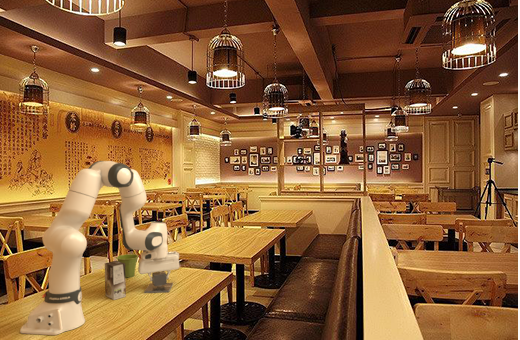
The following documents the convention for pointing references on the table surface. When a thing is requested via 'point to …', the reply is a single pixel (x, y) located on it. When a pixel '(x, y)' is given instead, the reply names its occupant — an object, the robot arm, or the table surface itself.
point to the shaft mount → (158, 288)
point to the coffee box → (115, 280)
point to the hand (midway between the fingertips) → (159, 279)
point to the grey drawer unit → (159, 278)
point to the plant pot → (128, 263)
